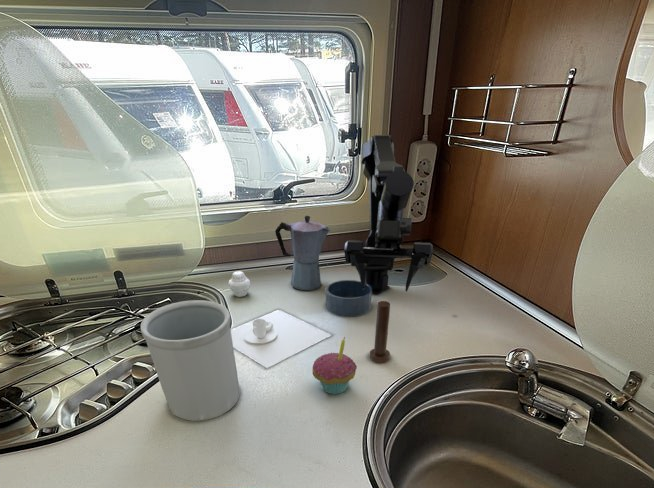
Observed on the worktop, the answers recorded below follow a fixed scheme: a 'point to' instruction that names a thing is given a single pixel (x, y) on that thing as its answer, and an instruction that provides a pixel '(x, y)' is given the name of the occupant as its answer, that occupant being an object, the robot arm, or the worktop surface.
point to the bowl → (348, 298)
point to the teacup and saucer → (275, 337)
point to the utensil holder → (193, 357)
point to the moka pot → (304, 251)
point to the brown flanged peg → (381, 334)
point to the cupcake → (334, 370)
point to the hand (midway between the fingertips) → (384, 289)
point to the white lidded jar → (239, 284)
